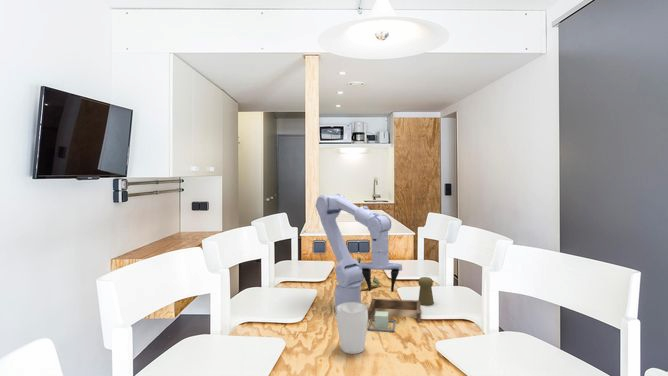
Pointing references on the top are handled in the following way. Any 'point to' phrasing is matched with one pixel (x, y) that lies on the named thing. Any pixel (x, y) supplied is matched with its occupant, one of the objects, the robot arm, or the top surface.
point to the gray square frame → (381, 329)
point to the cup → (352, 326)
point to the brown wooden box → (396, 308)
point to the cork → (425, 291)
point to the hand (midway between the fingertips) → (381, 290)
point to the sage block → (381, 320)
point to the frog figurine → (375, 284)
